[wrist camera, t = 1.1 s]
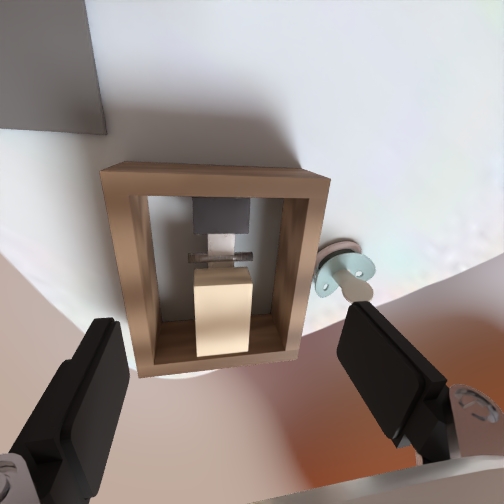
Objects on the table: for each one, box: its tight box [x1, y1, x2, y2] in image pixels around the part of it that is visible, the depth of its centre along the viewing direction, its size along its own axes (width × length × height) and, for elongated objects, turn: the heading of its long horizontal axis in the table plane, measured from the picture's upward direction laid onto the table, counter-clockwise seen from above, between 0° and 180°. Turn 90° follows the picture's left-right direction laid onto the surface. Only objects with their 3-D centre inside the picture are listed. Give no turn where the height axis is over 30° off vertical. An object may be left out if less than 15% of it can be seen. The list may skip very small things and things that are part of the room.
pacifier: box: [313, 241, 376, 304], centre depth 27 cm, size 7×6×6 cm
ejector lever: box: [188, 197, 253, 268], centre depth 24 cm, size 15×6×1 cm, turn 176°
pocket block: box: [99, 161, 331, 378], centre depth 24 cm, size 19×16×6 cm
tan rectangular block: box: [194, 267, 253, 357], centre depth 24 cm, size 8×5×3 cm, turn 176°
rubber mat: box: [0, 0, 107, 135], centre depth 17 cm, size 10×10×1 cm
